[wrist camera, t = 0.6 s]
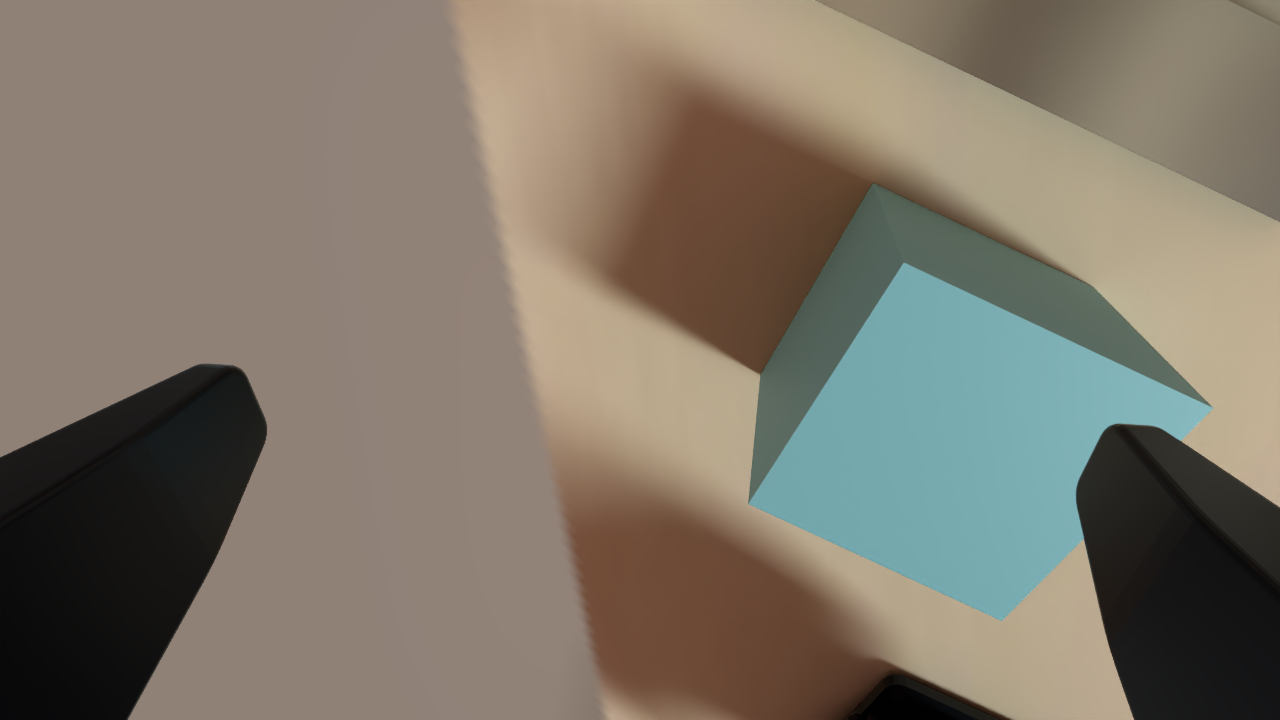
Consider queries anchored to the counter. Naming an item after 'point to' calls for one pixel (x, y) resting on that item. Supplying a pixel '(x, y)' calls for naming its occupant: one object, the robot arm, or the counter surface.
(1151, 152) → the plate
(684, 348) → the counter surface
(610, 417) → the counter surface
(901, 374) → the teal block
